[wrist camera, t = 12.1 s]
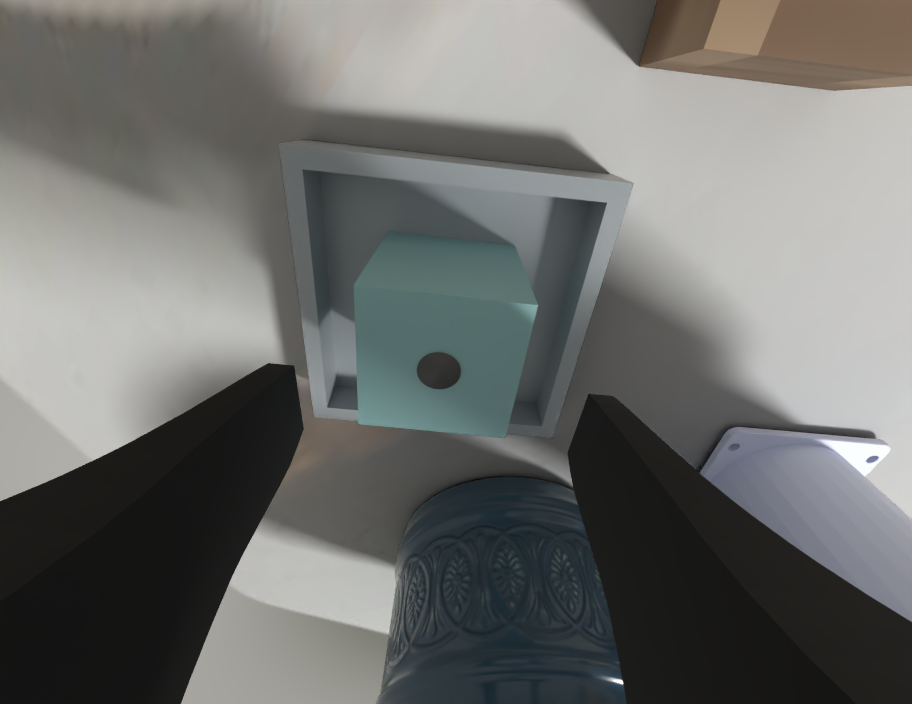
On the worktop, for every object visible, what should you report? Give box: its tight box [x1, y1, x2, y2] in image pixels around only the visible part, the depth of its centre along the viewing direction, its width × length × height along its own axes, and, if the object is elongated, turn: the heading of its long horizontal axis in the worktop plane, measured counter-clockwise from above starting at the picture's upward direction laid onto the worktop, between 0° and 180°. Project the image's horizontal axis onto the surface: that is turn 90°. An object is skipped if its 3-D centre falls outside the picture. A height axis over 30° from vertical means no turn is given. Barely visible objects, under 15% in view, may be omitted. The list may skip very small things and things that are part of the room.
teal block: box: [354, 231, 538, 438], centre depth 13 cm, size 4×4×5 cm
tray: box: [278, 140, 634, 438], centre depth 14 cm, size 10×10×2 cm
